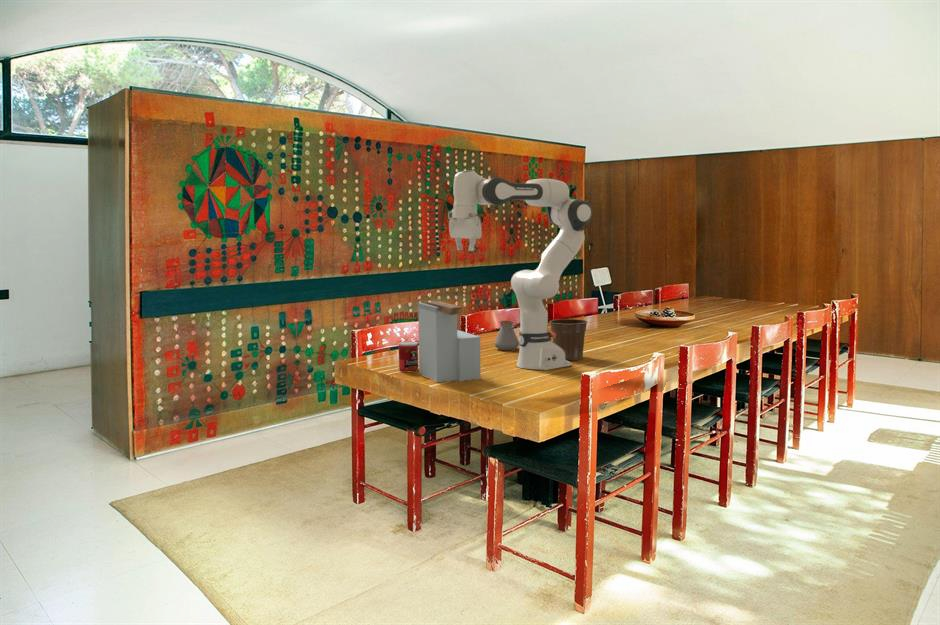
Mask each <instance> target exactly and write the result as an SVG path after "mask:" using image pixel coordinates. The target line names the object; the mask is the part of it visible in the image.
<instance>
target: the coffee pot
mask: <svg viewBox="0 0 940 625" xmlns="http://www.w3.org/2000/svg"><path fill="white" fill-rule="evenodd" d="M514 323H515V322H514V321H512V320H502V321H499V324H500V326H501V327H500V328H499V331H498V333H497V335H496V338H495V340H494V342H493V344H494V345H495V348H497V349H498V351H502V350H512V351H515V350H516V349H517V348H518V347H519V346H520V344H519V338H518V337H517V334H516V332H515V330H514V328H517V327H520V322H518V323H516V324H515V325H513V324H514ZM514 349H515V350H514Z"/></svg>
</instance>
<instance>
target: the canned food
mask: <svg viewBox="0 0 940 625" xmlns="http://www.w3.org/2000/svg"><path fill="white" fill-rule="evenodd" d="M398 369H399V371H400V370H401V371H400V372H402V371H414V372H417V371H419V342H418V341H401V342H398ZM416 370H417V371H416Z"/></svg>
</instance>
